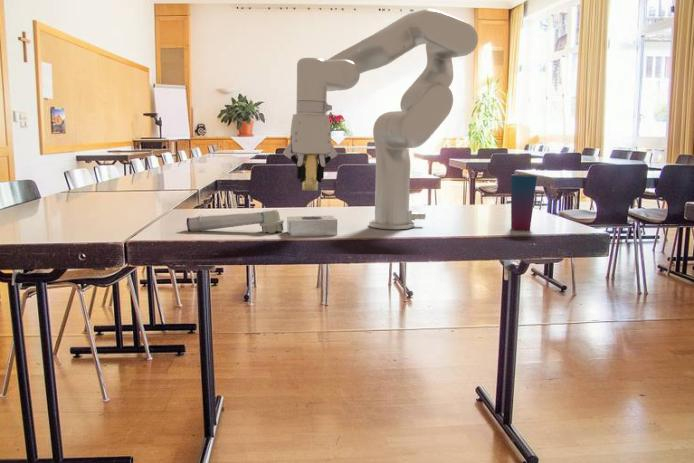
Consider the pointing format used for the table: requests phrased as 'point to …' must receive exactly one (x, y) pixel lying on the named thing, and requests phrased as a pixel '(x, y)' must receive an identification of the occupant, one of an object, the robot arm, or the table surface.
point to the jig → (311, 225)
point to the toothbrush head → (237, 221)
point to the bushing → (310, 172)
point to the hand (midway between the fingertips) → (310, 181)
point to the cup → (522, 200)
